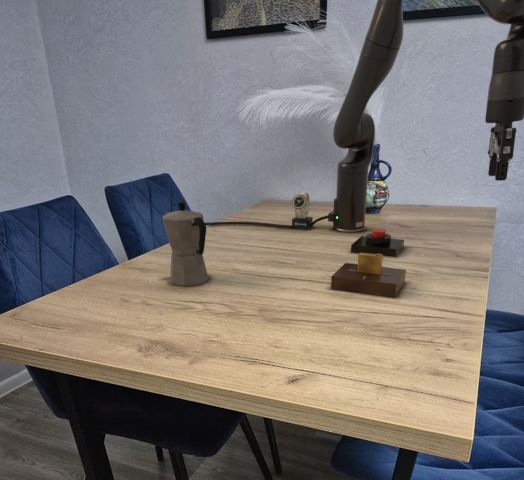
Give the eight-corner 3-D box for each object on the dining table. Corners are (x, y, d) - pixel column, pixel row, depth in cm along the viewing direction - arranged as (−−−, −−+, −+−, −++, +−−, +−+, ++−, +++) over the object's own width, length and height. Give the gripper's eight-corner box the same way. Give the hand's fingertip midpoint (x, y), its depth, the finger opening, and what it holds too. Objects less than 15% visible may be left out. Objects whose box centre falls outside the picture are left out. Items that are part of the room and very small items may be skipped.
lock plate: (330, 288, 104) (331, 275, 102) (344, 275, 112) (345, 262, 110) (394, 297, 98) (396, 283, 97) (404, 282, 106) (406, 268, 104)
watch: (289, 230, 152) (289, 194, 147) (298, 224, 158) (298, 190, 153) (306, 231, 150) (306, 195, 145) (314, 225, 156) (315, 191, 151)
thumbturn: (357, 272, 104) (358, 253, 102) (359, 270, 105) (360, 251, 103) (379, 274, 102) (381, 255, 100) (381, 272, 103) (383, 253, 101)
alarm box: (350, 252, 127) (351, 238, 125) (360, 243, 135) (361, 229, 133) (395, 257, 123) (397, 242, 121) (403, 247, 130) (405, 233, 129)
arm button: (370, 237, 126) (370, 231, 126) (373, 234, 129) (374, 228, 128) (383, 239, 125) (384, 232, 124) (386, 235, 128) (387, 229, 127)
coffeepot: (158, 277, 114) (147, 201, 106) (191, 269, 119) (184, 195, 111) (192, 294, 103) (183, 210, 95) (227, 284, 108) (221, 204, 100)
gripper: (482, 100, 107) (474, 175, 114) (493, 97, 94) (484, 182, 101) (518, 96, 105) (508, 173, 112) (535, 94, 93) (522, 180, 99)
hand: (496, 178), depth 107 cm, fingers open, 8 cm apart
